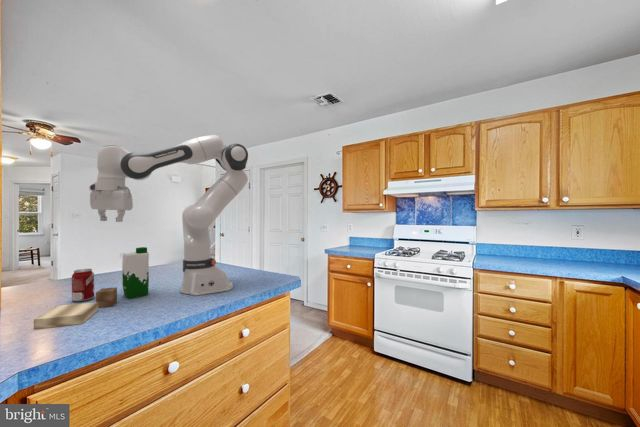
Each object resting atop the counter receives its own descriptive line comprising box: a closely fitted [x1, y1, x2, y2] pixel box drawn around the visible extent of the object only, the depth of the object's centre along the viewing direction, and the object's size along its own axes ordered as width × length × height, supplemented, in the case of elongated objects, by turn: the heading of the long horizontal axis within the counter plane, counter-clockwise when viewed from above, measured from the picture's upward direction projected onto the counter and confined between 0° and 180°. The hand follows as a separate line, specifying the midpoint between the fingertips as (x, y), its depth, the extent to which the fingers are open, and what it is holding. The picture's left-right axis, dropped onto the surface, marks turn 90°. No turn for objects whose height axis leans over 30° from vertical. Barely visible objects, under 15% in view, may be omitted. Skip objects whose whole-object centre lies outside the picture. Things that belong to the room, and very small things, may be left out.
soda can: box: [71, 268, 95, 303], centre depth 108 cm, size 7×7×12 cm
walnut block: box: [95, 286, 118, 309], centre depth 103 cm, size 5×5×6 cm
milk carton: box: [121, 246, 150, 300], centre depth 114 cm, size 9×9×20 cm
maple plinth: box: [33, 301, 99, 330], centre depth 90 cm, size 12×12×3 cm
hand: (111, 221), depth 107 cm, fingers open, 8 cm apart
